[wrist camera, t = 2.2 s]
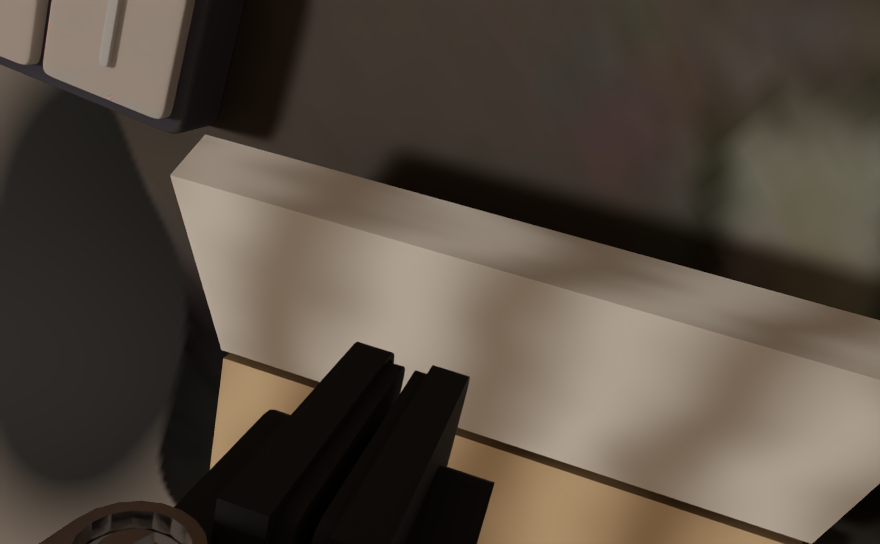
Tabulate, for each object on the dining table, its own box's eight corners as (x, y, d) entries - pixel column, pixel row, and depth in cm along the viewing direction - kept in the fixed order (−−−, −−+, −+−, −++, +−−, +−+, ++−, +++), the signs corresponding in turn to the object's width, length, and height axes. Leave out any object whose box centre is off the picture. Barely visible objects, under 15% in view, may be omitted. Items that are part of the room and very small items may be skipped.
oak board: (794, 516, 28) (804, 550, 26) (705, 713, 31) (708, 756, 29) (248, 339, 31) (223, 358, 30) (222, 532, 35) (198, 560, 33)
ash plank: (958, 341, 20) (967, 404, 19) (812, 490, 27) (811, 544, 25) (205, 134, 24) (170, 175, 22) (246, 310, 30) (221, 349, 29)
